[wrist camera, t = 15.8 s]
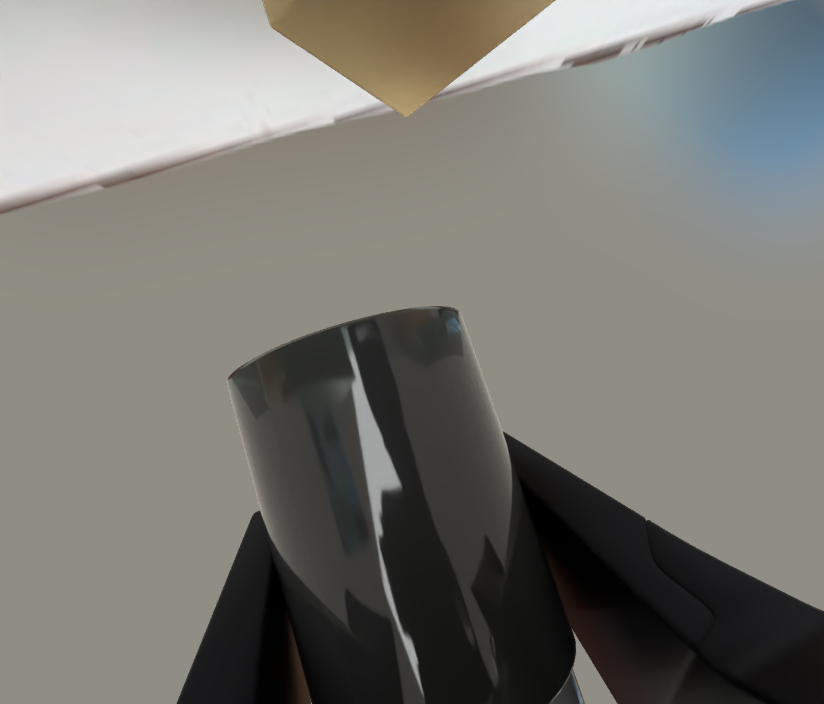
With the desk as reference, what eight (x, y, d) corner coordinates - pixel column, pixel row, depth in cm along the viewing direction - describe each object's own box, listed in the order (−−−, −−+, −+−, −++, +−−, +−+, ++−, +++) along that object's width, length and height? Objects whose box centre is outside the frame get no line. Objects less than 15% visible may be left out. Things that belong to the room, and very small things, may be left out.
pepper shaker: (407, 287, 6) (609, 891, 5) (484, 317, 10) (605, 655, 9) (166, 394, 8) (284, 877, 7) (318, 383, 12) (405, 680, 11)
